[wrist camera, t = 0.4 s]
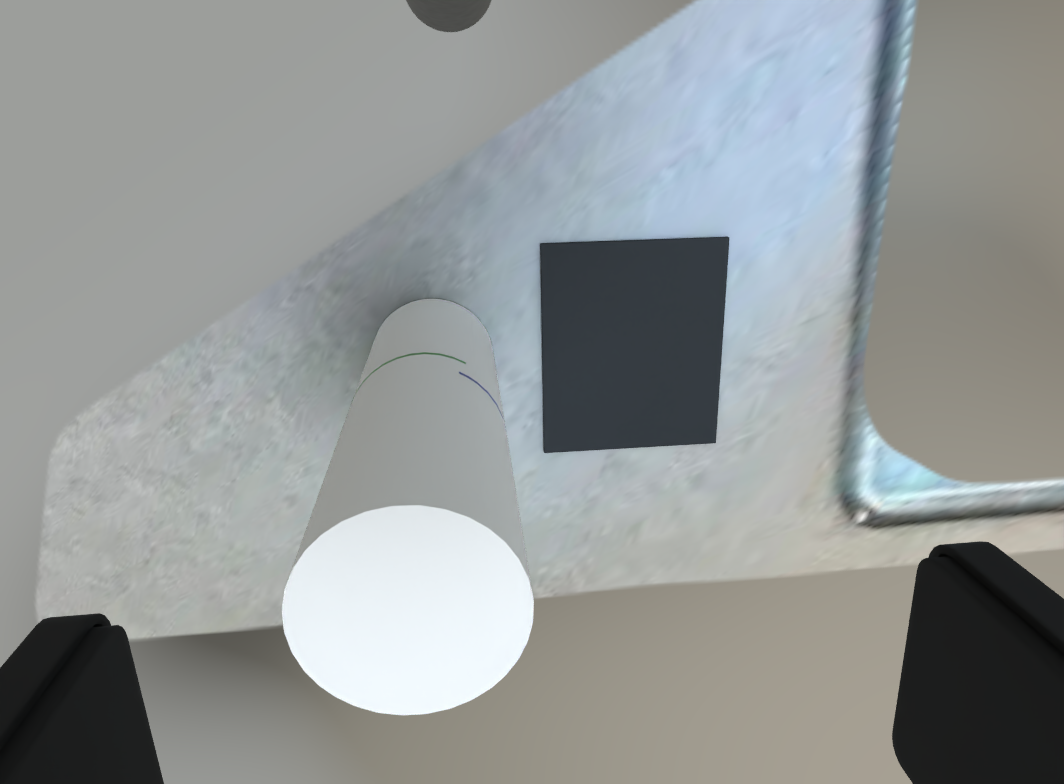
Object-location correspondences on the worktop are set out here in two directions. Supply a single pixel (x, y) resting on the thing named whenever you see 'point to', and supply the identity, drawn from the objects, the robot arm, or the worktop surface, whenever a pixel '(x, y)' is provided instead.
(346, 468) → the cylindrical container
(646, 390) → the mat
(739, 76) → the worktop surface
